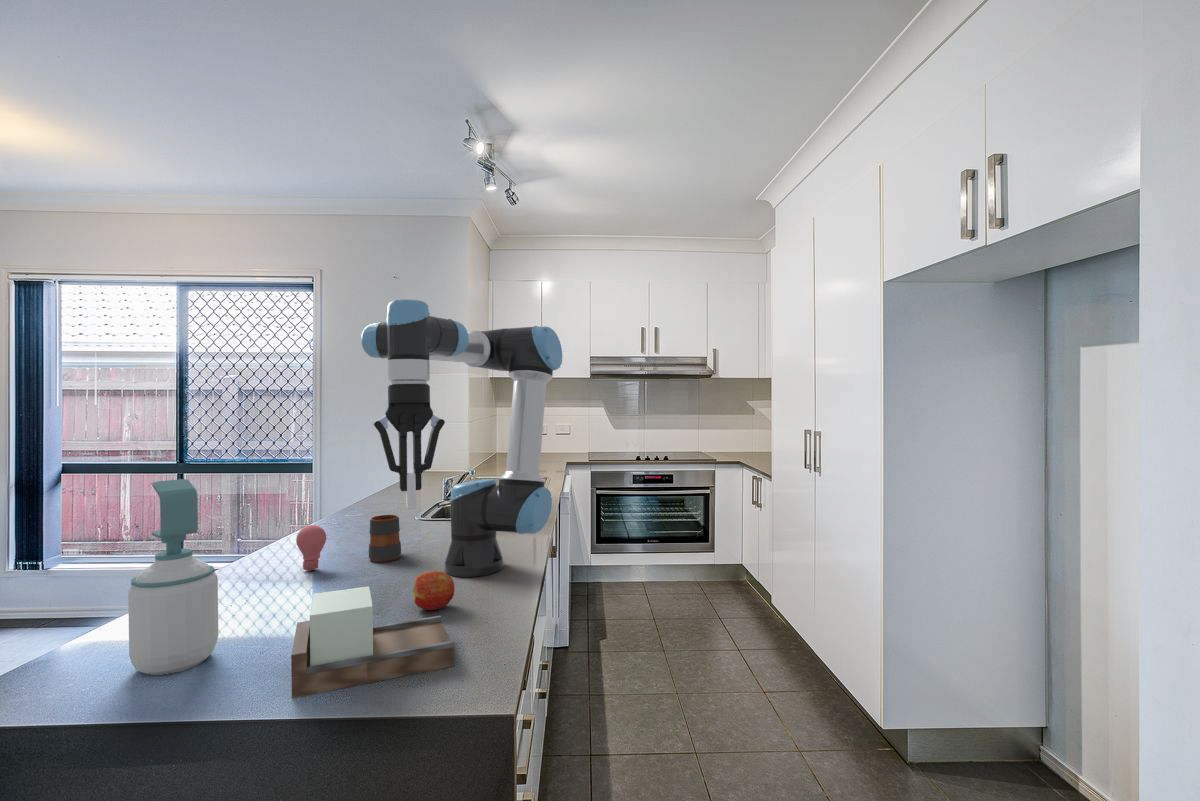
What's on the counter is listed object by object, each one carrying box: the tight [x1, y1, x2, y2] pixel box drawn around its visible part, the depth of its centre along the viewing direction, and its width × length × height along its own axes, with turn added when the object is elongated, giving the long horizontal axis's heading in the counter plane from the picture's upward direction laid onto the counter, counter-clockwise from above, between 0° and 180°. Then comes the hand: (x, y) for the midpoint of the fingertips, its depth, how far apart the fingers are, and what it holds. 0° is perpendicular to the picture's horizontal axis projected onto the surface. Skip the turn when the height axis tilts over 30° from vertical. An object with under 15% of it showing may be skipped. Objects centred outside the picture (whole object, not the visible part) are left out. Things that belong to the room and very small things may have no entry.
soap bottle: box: [127, 478, 219, 676], centre depth 98 cm, size 12×12×31 cm
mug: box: [368, 514, 402, 563], centre depth 164 cm, size 9×12×12 cm
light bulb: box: [295, 524, 327, 572], centre depth 151 cm, size 7×7×12 cm
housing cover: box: [309, 586, 374, 667], centre depth 95 cm, size 9×11×8 cm
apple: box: [412, 570, 456, 611], centre depth 123 cm, size 8×8×8 cm
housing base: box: [290, 615, 455, 699], centre depth 97 cm, size 24×14×6 cm, turn 115°
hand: (410, 507), depth 108 cm, fingers closed
